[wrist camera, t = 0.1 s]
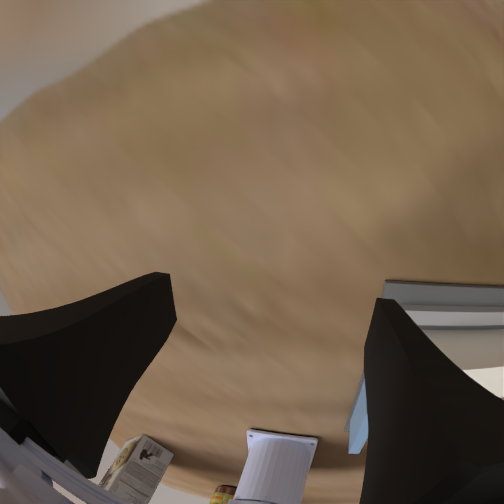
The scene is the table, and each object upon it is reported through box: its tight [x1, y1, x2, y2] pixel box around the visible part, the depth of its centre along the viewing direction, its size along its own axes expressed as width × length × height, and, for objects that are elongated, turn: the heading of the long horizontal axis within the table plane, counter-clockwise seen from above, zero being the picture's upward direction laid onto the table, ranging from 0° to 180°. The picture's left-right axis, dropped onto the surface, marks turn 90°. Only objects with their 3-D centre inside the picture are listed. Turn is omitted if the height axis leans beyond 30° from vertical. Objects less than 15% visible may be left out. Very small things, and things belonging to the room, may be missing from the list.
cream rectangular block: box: [422, 329, 504, 397], centre depth 17 cm, size 4×12×4 cm, turn 92°
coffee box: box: [98, 434, 174, 504], centre depth 33 cm, size 9×6×16 cm
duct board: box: [344, 280, 504, 454], centre depth 19 cm, size 18×16×4 cm
